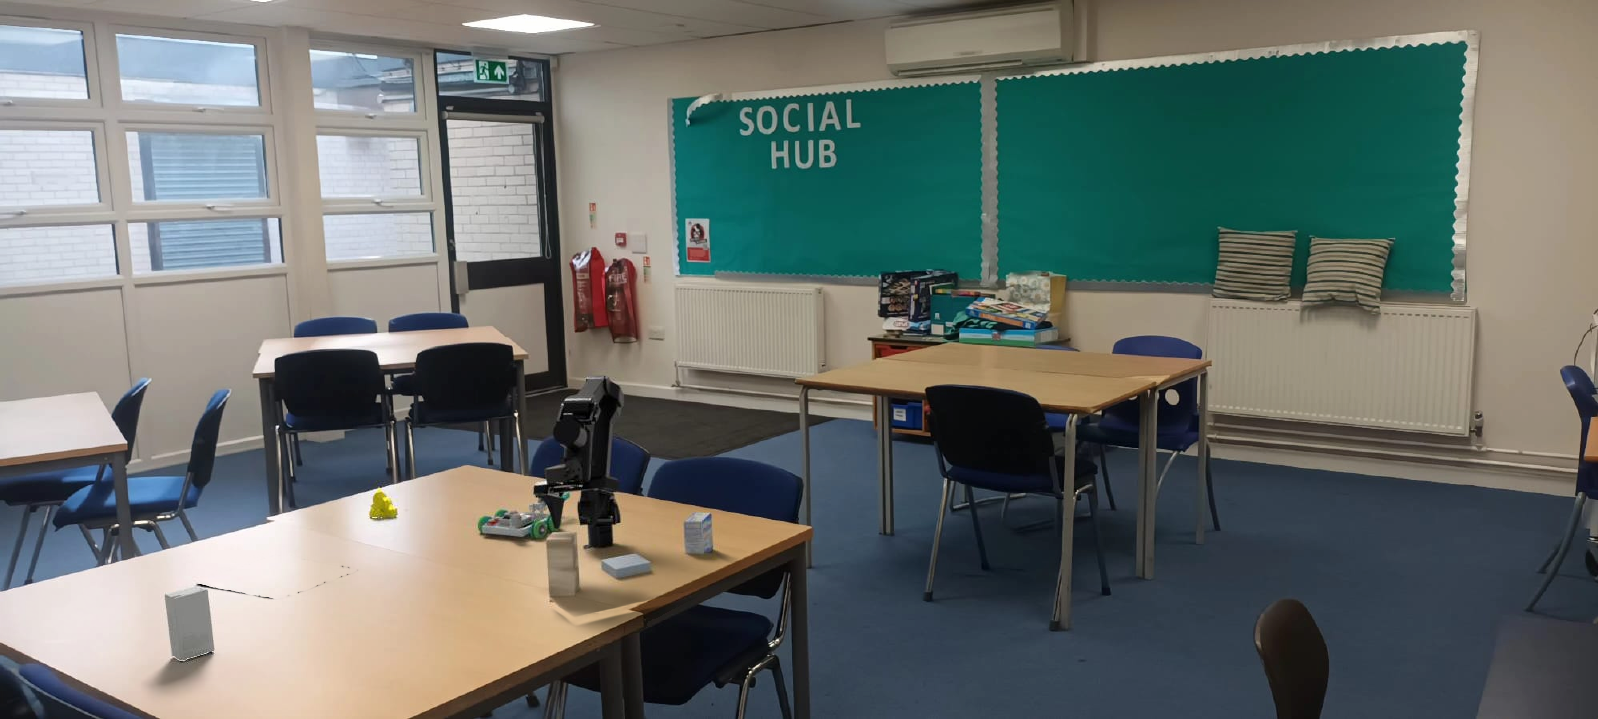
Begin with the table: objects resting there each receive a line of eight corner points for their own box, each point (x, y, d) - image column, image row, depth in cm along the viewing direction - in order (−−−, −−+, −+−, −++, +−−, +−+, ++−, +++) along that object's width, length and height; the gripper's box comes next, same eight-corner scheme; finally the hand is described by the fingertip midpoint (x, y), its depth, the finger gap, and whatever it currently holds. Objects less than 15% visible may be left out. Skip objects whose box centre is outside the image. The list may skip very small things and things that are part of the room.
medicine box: (703, 559, 255) (702, 521, 254) (684, 558, 256) (683, 521, 255) (713, 549, 262) (712, 512, 261) (694, 548, 263) (693, 511, 262)
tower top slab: (601, 568, 246) (601, 559, 246) (635, 562, 250) (635, 553, 250) (616, 578, 239) (615, 569, 239) (651, 571, 243) (650, 562, 243)
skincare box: (205, 647, 210) (199, 583, 209) (216, 653, 207) (209, 588, 206) (169, 658, 206) (163, 593, 204) (180, 663, 203) (173, 598, 201)
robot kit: (590, 517, 294) (588, 481, 293) (531, 544, 271) (529, 506, 270) (531, 511, 301) (529, 477, 300) (468, 537, 279) (466, 500, 278)
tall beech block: (556, 593, 235) (552, 532, 233) (580, 593, 234) (576, 532, 233) (549, 602, 230) (546, 539, 228) (574, 601, 229) (570, 539, 228)
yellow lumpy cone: (385, 520, 296) (382, 491, 295) (364, 517, 300) (361, 488, 299) (403, 514, 301) (400, 486, 300) (382, 511, 305) (380, 483, 304)
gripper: (518, 452, 242) (514, 525, 238) (591, 443, 234) (587, 519, 230) (551, 460, 252) (547, 532, 247) (622, 453, 244) (619, 526, 239)
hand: (574, 527), depth 241 cm, fingers open, 9 cm apart
